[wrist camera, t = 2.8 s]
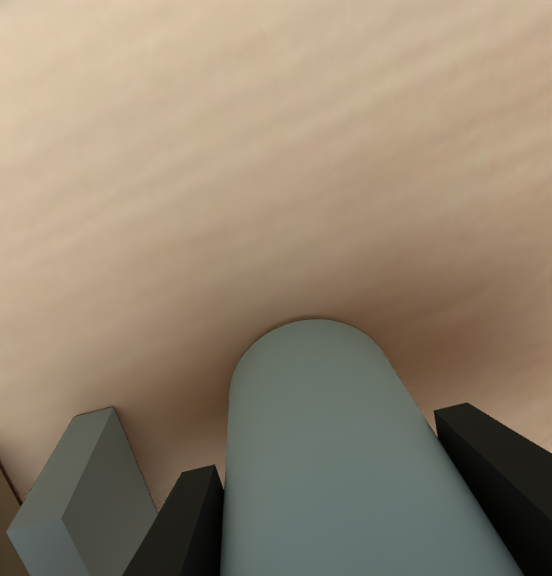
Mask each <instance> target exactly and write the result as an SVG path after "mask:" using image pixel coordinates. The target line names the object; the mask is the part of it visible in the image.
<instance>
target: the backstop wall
mask: <svg viewBox="0 0 552 576" xmlns="http://www.w3.org/2000/svg"><path fill="white" fill-rule="evenodd" d="M157 515H158V513H157V511H156V508H155V506H154V503H153V501H152V498H151V496H150V494H149V491H148V489H147V486H146V484H145V482H144V479H143V477H142V474H141V472H140V469H139V467H138V465H137V462H136V460H135V457H134V455H133V452H132V450H131V448H130V445H129V443H128V440H127V438H126V435H125V433H124V431H123V428H122V426H121V423H120V421H119V418H118V416H117V414H116V411H115V409H114V407H111V408H107V409H103V410H99V411H95V412H91V413H87V414H82V415H78V416H74V418H73V419H72V421H71V423H70V424H69V426H68V428H67V429H66V431H65V433H64V435H63V436H62V438H61V440H60V441H59V443H58V445H57V446H56V448H55V450H54V451H53V453H52V455H51V457H50V458H49V460H48V462H47V463H46V465H45V467H44V468H43V470H42V472H41V474H40V475H39V477H38V479H37V480H36V482H35V484H34V485H33V487H32V489H31V490H30V492H29V494H28V496H27V497H26V499H25V501H24V502H23V504H22V506H21V507H20V509H19V511H18V512H17V514H16V516H15V518H14V519H13V521H12V523H11V524H10V526H9V528H8V529H7V531H6V533H7V535H8V537H9V538H10V540H11V542H12V544H13V546H14V547H15V549H16V551H17V553H18V554H19V556H20V558H21V560H22V562H23V563H24V565H25V567H26V569H27V571H28V572H29V574H30V576H122V574H123V573H124V571H125V569H126V568H127V566H128V564H129V563H130V561H131V559H132V558H133V556H134V554H135V553H136V551H137V549H138V548H139V546H140V544H141V543H142V541H143V539H144V538H145V536H146V534H147V532H148V531H149V529H150V527H151V526H152V524H153V522H154V520H155V519H156V517H157Z"/></svg>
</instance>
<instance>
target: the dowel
mask: <svg viewBox="0 0 552 576" xmlns="http://www.w3.org/2000/svg"><path fill="white" fill-rule="evenodd" d="M220 576H524V574H523V573H522V571H521V569H520V568H519V566H518V565H517V563H516V561H515V560H514V558H513V557H512V555H511V553H510V552H509V550H508V549H507V547H506V546H505V544H504V542H503V541H502V539H501V538H500V536H499V534H498V533H497V531H496V530H495V528H494V527H493V525H492V523H491V522H490V520H489V519H488V517H487V515H486V514H485V512H484V511H483V509H482V508H481V506H480V504H479V503H478V501H477V500H476V498H475V496H474V495H473V493H472V492H471V490H470V489H469V487H468V485H467V484H466V482H465V481H464V479H463V477H462V476H461V474H460V473H459V471H458V469H457V468H456V466H455V465H454V463H453V462H452V460H451V458H450V457H449V455H448V454H447V452H446V450H445V449H444V447H443V446H442V444H441V443H440V441H439V439H438V438H437V436H436V435H435V433H434V431H433V430H432V428H431V427H430V425H429V424H428V422H427V420H426V419H425V417H424V416H423V414H422V412H421V411H420V409H419V408H418V406H417V405H416V403H415V401H414V400H413V398H412V397H411V395H410V393H409V392H408V390H407V389H406V387H405V385H404V384H403V382H402V381H401V379H400V378H399V376H398V374H397V373H396V371H395V370H394V368H393V366H392V365H391V363H390V362H389V360H388V359H387V357H386V355H385V354H384V352H383V351H382V349H381V348H380V347H379V346H378V345H377V343H376V342H375V341H374V340H372V339H371V338H370V337H369V336H368V335H366V334H365V333H363V332H362V331H360V330H359V329H356V328H354V327H352V326H350V325H347V324H344V323H341V322H337V321H332V320H323V319H311V320H302V321H297V322H292V323H289V324H286V325H283V326H281V327H278V328H276V329H274V330H272V331H270V332H269V333H267V334H265V335H264V336H262V337H261V338H260V339H259V340H257V341H256V342H255V343H254V344H253V345H252V346H251V347H250V348H249V349H248V350H247V351H246V352H245V354H244V355H243V356H242V358H241V359H240V361H239V363H238V365H237V366H236V368H235V371H234V373H233V376H232V379H231V384H230V390H229V407H228V426H227V446H226V465H225V485H224V504H223V524H222V543H221V563H220Z"/></svg>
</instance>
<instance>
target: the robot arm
mask: <svg viewBox="0 0 552 576" xmlns="http://www.w3.org/2000/svg"><path fill="white" fill-rule="evenodd" d="M434 415H435V422H436V429H437V435H438V439H439V441H440V443H441V444H442V446H443V447H444V449H445V450H446V452H447V454H448V455H449V457H450V458H451V460H452V462H453V463H454V465H455V466H456V468H457V469H458V471H459V473H460V474H461V476H462V477H463V479H464V481H465V482H466V484H467V485H468V487H469V489H470V490H471V492H472V493H473V495H474V496H475V498H476V500H477V501H478V503H479V504H480V506H481V508H482V509H483V511H484V512H485V514H486V515H487V517H488V519H489V520H490V522H491V523H492V525H493V527H494V528H495V530H496V531H497V533H498V534H499V536H500V538H501V539H502V541H503V542H504V544H505V546H506V547H507V549H508V550H509V552H510V553H511V555H512V557H513V558H514V560H515V561H516V563H517V565H518V566H519V568H520V569H521V571H522V573H523V574H524V576H552V453H550V452H548V451H547V450H545V449H543V448H542V447H540V446H538V445H536V444H535V443H533V442H531V441H530V440H528V439H526V438H525V437H523V436H521V435H520V434H518V433H516V432H515V431H513V430H511V429H510V428H508V427H507V426H505V425H503V424H502V423H500V422H498V421H497V420H495V419H493V418H492V417H490V416H489V415H487V414H485V413H484V412H482V411H480V410H479V409H477V408H475V407H474V406H472V405H470V404H469V403H463V404H459V405H455V406H451V407H447V408H443V409H439V410H435V411H434ZM223 504H224V489H223V486H222V484H221V481H220V478H219V475H218V472H217V469H216V466H215V465H211V466H206V467H202V468H198V469H194V470H190V471H186V472H182V474H181V475H180V477H179V479H178V480H177V482H176V484H175V485H174V487H173V489H172V490H171V492H170V494H169V496H168V497H167V499H166V501H165V503H164V505H163V506H162V508H161V510H160V512H159V513H158V515H157V517H156V519H155V520H154V522H153V524H152V526H151V527H150V529H149V531H148V532H147V534H146V536H145V538H144V539H143V541H142V543H141V544H140V546H139V548H138V549H137V551H136V553H135V554H134V556H133V558H132V559H131V561H130V563H129V564H128V566H127V568H126V569H125V571H124V573H123V574H122V576H220V563H221V543H222V524H223Z"/></svg>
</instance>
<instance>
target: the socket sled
mask: <svg viewBox="0 0 552 576" xmlns="http://www.w3.org/2000/svg"><path fill="white" fill-rule="evenodd" d="M19 509H20V505H19V503H18V501H17V499H16V497H15V495H14V494H13V492H12V490H11V488H10V486H9V484H8V482H7V480H6V478H5V477H4V475H3V473H2V471H1V469H0V576H30V574H29V572H28V571H27V569H26V567H25V565H24V563H23V562H22V560H21V558H20V556H19V554H18V553H17V551H16V549H15V547H14V546H13V544H12V542H11V540H10V538H9V537H8V535H7V533H6V531H7V529H8V528H9V526H10V524H11V523H12V521H13V519H14V518H15V516H16V514H17V512H18V511H19Z"/></svg>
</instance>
